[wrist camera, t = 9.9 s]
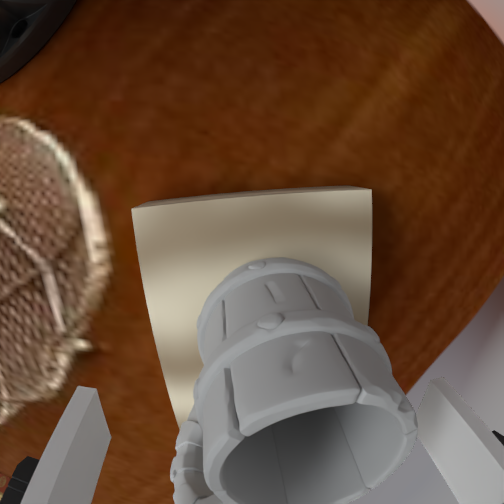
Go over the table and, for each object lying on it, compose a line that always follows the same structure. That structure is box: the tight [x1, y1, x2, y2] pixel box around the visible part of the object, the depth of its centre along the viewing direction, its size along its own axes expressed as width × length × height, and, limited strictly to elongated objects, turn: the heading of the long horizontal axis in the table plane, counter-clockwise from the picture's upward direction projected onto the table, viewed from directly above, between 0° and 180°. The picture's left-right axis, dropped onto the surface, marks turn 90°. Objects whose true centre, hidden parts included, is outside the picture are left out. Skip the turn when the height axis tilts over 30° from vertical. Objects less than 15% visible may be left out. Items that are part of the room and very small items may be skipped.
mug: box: [170, 257, 418, 504], centre depth 11 cm, size 8×12×12 cm, turn 141°
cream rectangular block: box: [131, 186, 372, 429], centre depth 19 cm, size 16×12×4 cm
